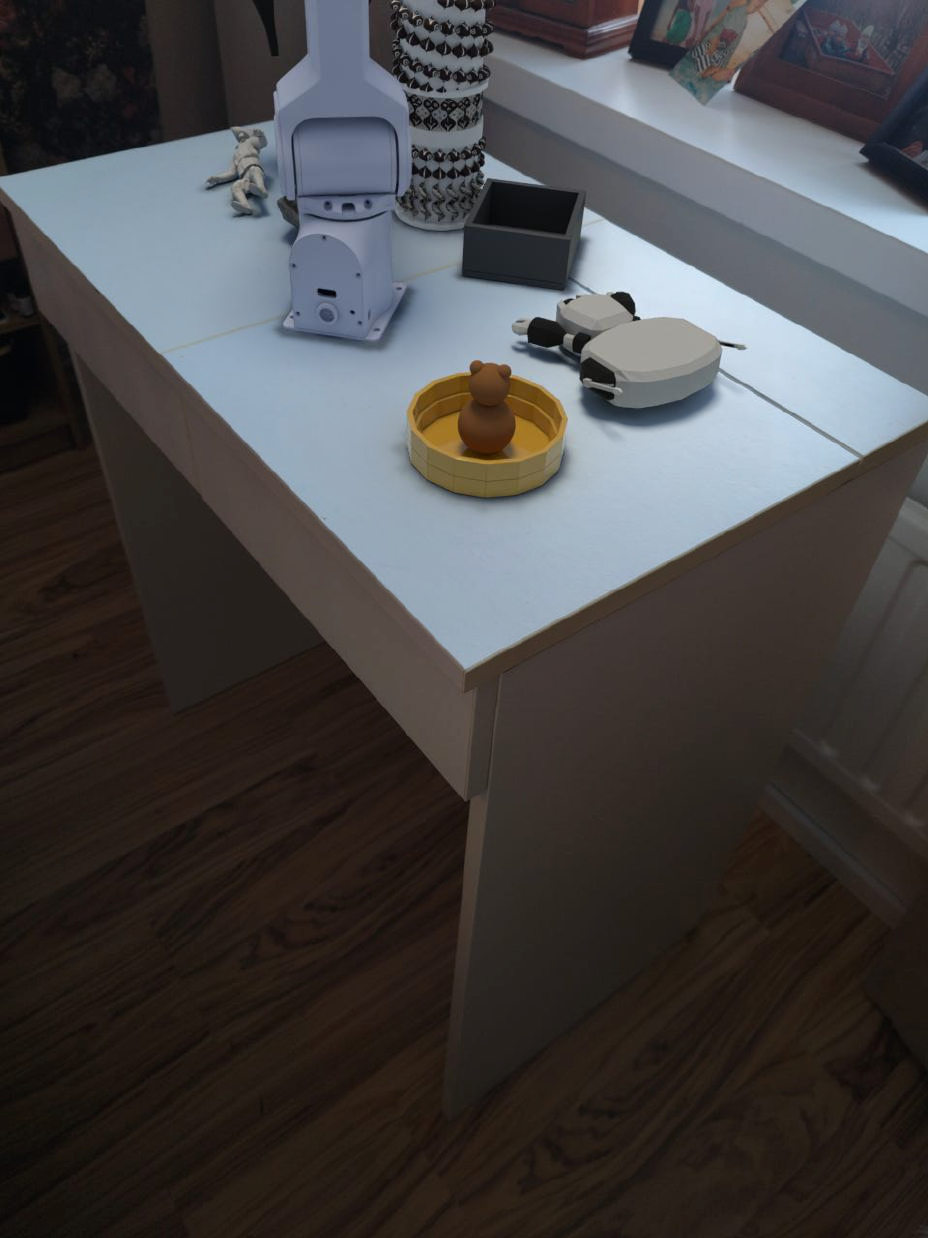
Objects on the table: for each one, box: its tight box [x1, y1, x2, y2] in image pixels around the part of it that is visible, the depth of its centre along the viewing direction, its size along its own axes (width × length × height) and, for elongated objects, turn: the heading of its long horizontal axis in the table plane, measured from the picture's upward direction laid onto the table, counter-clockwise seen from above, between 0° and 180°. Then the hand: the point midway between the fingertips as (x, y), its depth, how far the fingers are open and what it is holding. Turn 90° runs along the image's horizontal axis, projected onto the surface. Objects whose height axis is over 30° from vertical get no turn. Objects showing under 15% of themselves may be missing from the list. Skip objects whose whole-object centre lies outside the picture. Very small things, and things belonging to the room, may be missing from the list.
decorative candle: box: [389, 0, 499, 232], centre depth 89 cm, size 9×9×25 cm
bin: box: [461, 177, 587, 291], centre depth 90 cm, size 10×9×5 cm
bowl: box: [406, 371, 569, 499], centre depth 70 cm, size 11×11×3 cm
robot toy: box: [511, 290, 748, 409], centre depth 78 cm, size 12×4×15 cm
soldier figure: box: [204, 126, 269, 215], centre depth 98 cm, size 8×5×12 cm
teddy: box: [458, 359, 516, 454], centre depth 68 cm, size 4×4×7 cm
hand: (313, 48), depth 98 cm, fingers open, 7 cm apart
